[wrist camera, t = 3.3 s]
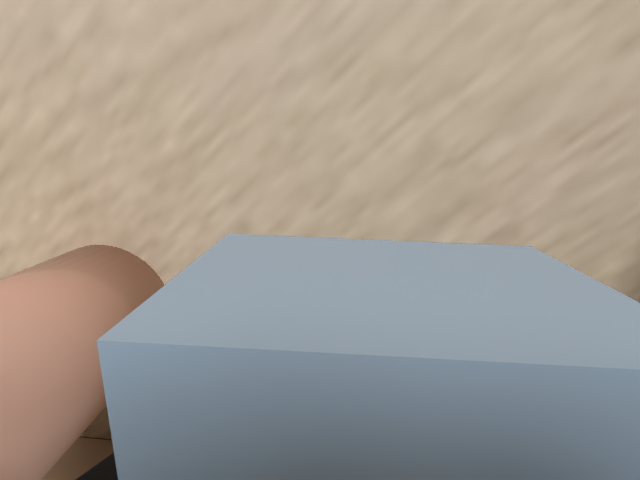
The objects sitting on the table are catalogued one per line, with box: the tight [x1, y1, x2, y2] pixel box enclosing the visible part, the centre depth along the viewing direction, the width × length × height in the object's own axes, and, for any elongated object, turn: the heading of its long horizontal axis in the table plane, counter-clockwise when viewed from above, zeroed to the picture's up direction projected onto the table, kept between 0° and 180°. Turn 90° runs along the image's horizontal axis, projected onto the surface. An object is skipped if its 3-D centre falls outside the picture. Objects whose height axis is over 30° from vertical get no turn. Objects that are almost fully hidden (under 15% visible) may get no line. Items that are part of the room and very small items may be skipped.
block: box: [97, 234, 640, 480], centre depth 6 cm, size 6×7×4 cm
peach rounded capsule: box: [0, 245, 164, 480], centre depth 10 cm, size 5×5×6 cm
